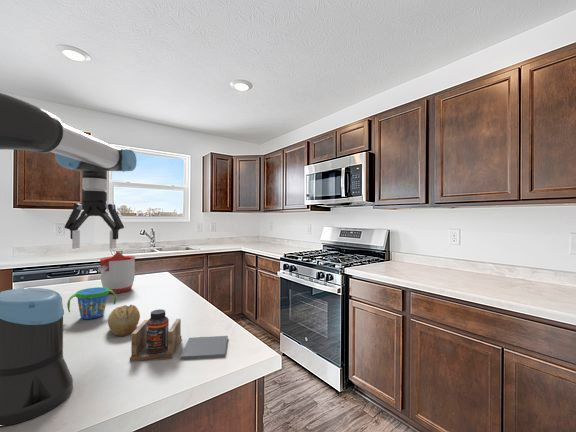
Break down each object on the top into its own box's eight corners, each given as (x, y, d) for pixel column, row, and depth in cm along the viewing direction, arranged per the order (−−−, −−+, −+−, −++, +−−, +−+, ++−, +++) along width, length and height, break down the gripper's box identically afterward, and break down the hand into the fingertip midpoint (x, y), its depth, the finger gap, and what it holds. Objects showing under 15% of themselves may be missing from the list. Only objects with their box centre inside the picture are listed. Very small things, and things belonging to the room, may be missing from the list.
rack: (171, 358, 79) (171, 333, 79) (129, 361, 78) (129, 335, 78) (181, 339, 92) (181, 317, 91) (145, 340, 90) (145, 318, 90)
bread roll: (137, 319, 108) (137, 298, 108) (142, 334, 96) (142, 310, 95) (107, 325, 103) (107, 303, 103) (108, 340, 90) (108, 315, 90)
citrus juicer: (89, 293, 141) (89, 253, 141) (121, 285, 157) (121, 249, 157) (110, 297, 135) (110, 255, 135) (142, 288, 151) (142, 251, 151)
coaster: (224, 356, 81) (224, 353, 81) (180, 359, 79) (180, 356, 79) (227, 338, 92) (227, 335, 92) (189, 340, 91) (189, 337, 91)
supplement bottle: (144, 355, 81) (144, 315, 81) (148, 346, 87) (148, 308, 87) (167, 352, 83) (167, 313, 82) (169, 343, 88) (169, 307, 88)
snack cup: (115, 309, 119) (115, 284, 119) (116, 316, 111) (116, 290, 110) (68, 316, 111) (68, 290, 111) (65, 325, 102) (65, 297, 102)
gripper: (134, 191, 109) (133, 247, 109) (68, 191, 109) (68, 246, 109) (122, 190, 102) (122, 249, 102) (52, 189, 102) (52, 249, 102)
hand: (94, 248), depth 105 cm, fingers open, 13 cm apart
